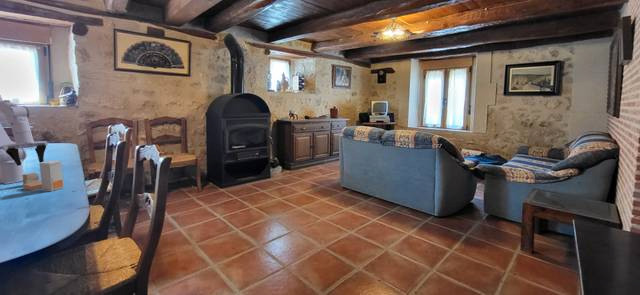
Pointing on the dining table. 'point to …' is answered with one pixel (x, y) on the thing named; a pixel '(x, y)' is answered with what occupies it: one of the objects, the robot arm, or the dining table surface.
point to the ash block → (30, 178)
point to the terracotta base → (33, 186)
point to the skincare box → (51, 175)
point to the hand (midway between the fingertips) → (30, 163)
